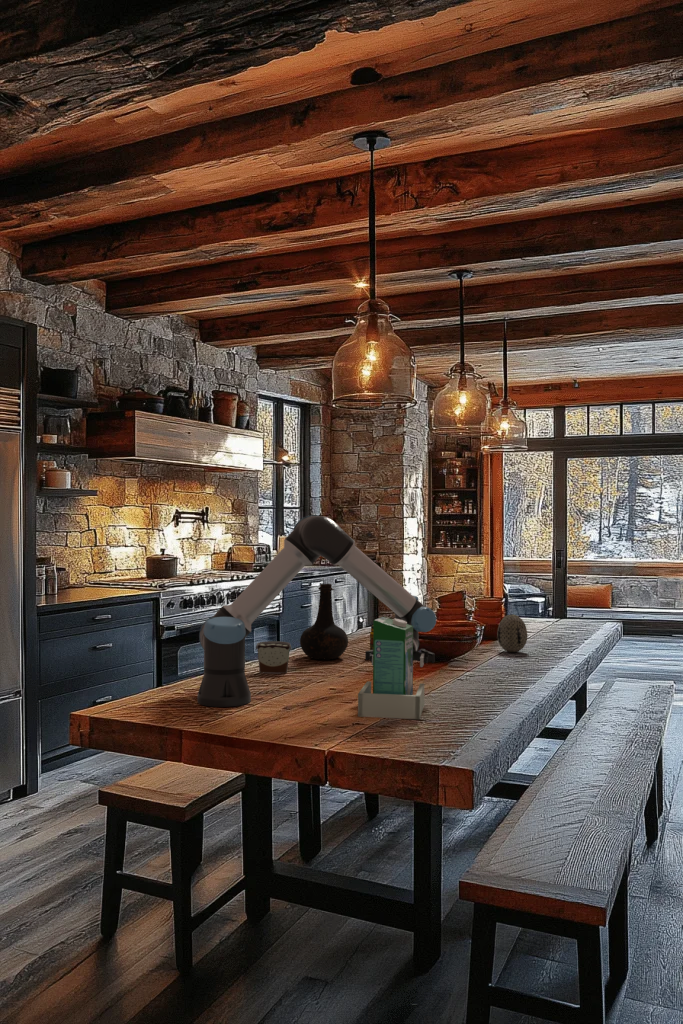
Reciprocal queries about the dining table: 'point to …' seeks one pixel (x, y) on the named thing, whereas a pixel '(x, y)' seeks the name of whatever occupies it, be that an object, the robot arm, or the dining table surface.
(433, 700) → the dining table surface
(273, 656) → the food container
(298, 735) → the dining table surface
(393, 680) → the milk carton
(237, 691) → the robot arm
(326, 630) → the glass bottle
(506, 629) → the decorative egg
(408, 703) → the box
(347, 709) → the dining table surface
